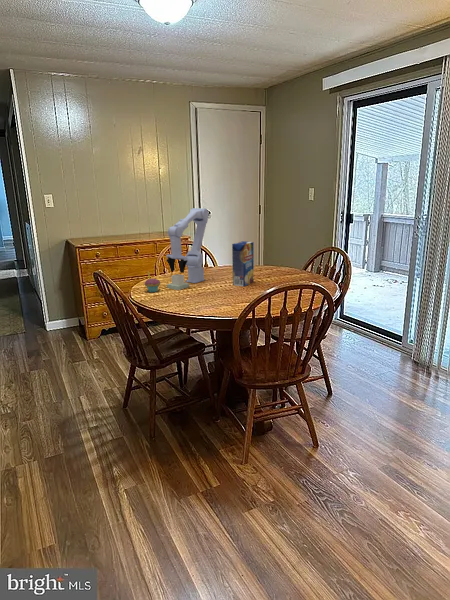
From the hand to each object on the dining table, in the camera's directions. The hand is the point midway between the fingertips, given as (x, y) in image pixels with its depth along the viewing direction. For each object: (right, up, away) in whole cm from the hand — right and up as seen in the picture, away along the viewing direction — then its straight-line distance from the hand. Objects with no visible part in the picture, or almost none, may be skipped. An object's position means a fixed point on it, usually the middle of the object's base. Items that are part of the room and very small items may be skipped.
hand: (177, 271), depth 232 cm
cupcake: (-13, -11, -4) cm, 18 cm away
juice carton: (+38, -7, +8) cm, 39 cm away
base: (0, -9, +3) cm, 9 cm away
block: (0, -7, +2) cm, 7 cm away
